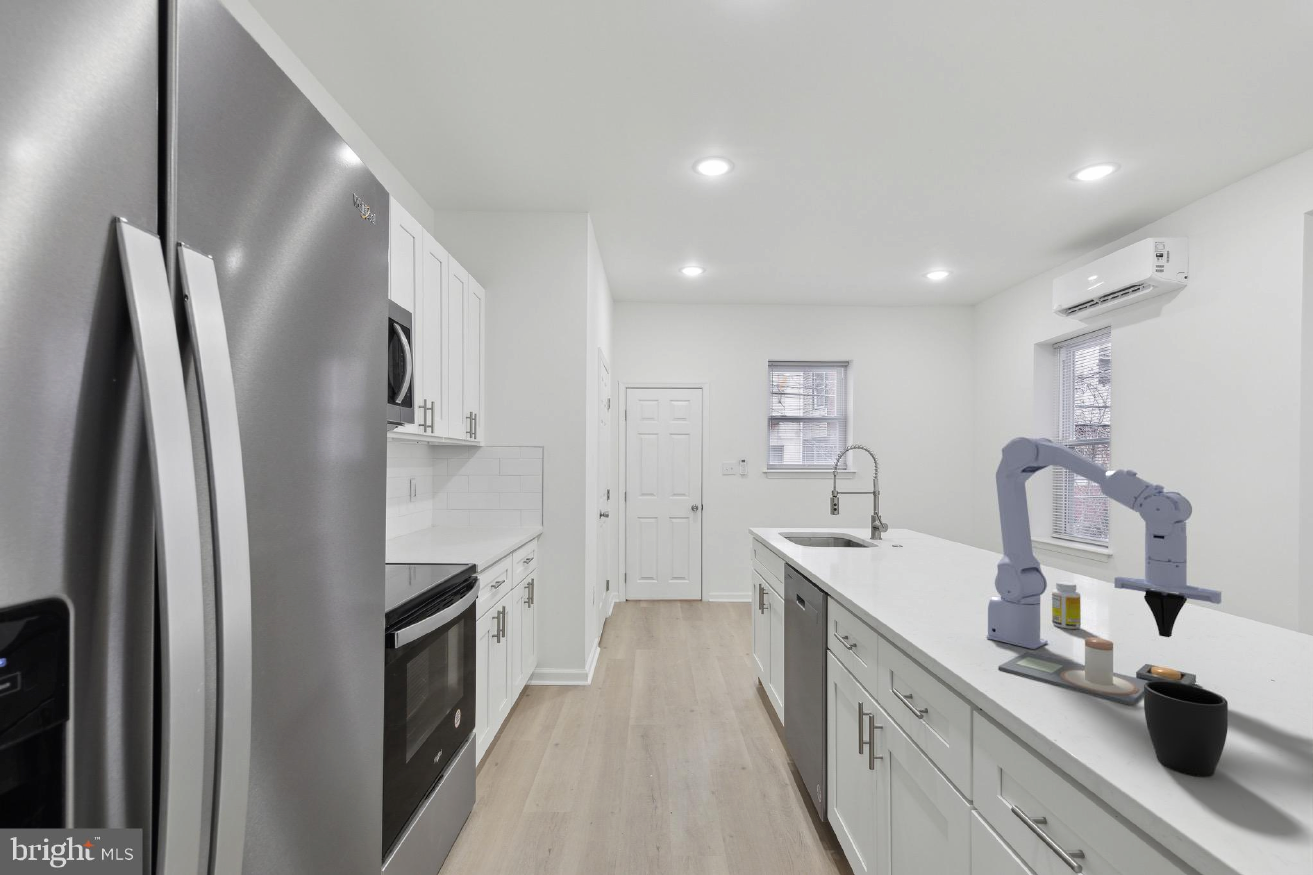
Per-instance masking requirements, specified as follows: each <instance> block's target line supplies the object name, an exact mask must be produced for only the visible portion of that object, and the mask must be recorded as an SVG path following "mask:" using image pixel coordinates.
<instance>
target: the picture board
mask: <svg viewBox="0 0 1313 875" xmlns="http://www.w3.org/2000/svg"><path fill="white" fill-rule="evenodd" d="M997 669H998V670H999V671H1001V672H1002V671H1003V672H1006V673H1010V674H1014V675H1017V676H1021V677H1025V678H1028V679H1032V680H1036V681H1040V682H1043V683H1046V684H1050V685H1054V686H1058V687H1061V688H1066V689H1068V690H1072V691H1076V692H1080V693H1082V694H1083V693H1084V694H1085V695H1086V694H1087V695H1091V696H1095V697H1098V698H1102V699H1105V700H1109V701H1113V702H1116V703H1120V704H1124V705H1126V706H1127V705H1128V706H1130V707H1131V706H1133V705H1134V704H1135V703H1136V702H1137V701H1138V700H1139V699H1141V697H1142V696H1144V684H1145V683H1146V682H1149V681H1147V680H1143V679H1139V678H1136V676H1135V677H1134V676H1130V675H1126V674H1122V673H1117V672H1114V671H1113V685H1110V686H1106V685H1098V684H1094V683H1091V682H1089V681H1087V680H1085V664H1080V663H1076V662H1072V661H1068V660H1063V659H1061V658H1060V659H1059V658H1056V657H1052V656H1048V655H1043V654H1040V653H1039V654H1038V653H1036V652H1031V651H1025V652H1023V653H1021V654H1020V655H1017V656H1015V657H1013V658H1012V659H1010V660H1008V661H1006V662H1004V663H1001V664H1000V665H998V667H997Z"/></svg>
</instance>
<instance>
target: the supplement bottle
mask: <svg viewBox="0 0 1313 875" xmlns="http://www.w3.org/2000/svg"><path fill="white" fill-rule="evenodd" d="M1081 611H1082V610H1081V593H1079V592H1078V591H1077V584H1076V583H1074V582H1070V581H1060V580H1059V581H1058V580H1057V581H1056V582H1055V589H1053V590H1051V618H1052V619H1051V622H1052V624H1053V625H1054V626H1055V627H1057V628H1061V629H1066V630H1068V629H1069V630H1078V629H1080V628H1081V627H1082V626H1081V624H1082V623H1081V622H1082V621H1081V613H1082V612H1081Z"/></svg>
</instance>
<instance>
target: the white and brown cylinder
mask: <svg viewBox="0 0 1313 875" xmlns="http://www.w3.org/2000/svg"><path fill="white" fill-rule="evenodd" d="M1084 665H1085V680H1087V681H1089V682H1091V683H1094V684H1098V685H1106V686H1110V685H1113V672H1114V642H1113V641H1111V640H1108V639H1104V638H1100V637H1092V636H1090V637H1084Z"/></svg>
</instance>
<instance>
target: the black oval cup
mask: <svg viewBox="0 0 1313 875" xmlns="http://www.w3.org/2000/svg"><path fill="white" fill-rule="evenodd" d="M1143 709H1144V710H1143V711H1144V718H1145V722H1146V727H1147V730H1148V735H1149V737H1150V741H1151V744H1152V746H1153V749H1154V752H1155V755H1156V759H1157V761H1158V762H1159V763H1160V764H1161V765H1163V766H1165V767H1166V768H1168V769H1171V770H1173V771H1174V772H1178V773H1181V774H1184V775H1187V776H1193V777H1198V778H1210V777H1212V776H1214V774H1215V771H1216V768H1217V766H1218V764H1219V762H1220V759H1221V756H1222V754H1223V752H1224V748H1225V744H1226V741H1227V735H1228V728H1229V726H1228V724H1229V720H1228V719H1229V715H1228V714H1229V710H1228V709H1229V703H1228V700H1227V699H1226V697H1224V696H1222V695H1220V694H1218V693H1216V692H1214V691H1211V690H1209V689H1206V688H1203V687H1199V686H1195V685H1194V686H1192V685H1187V684H1183V683H1182V682H1180V681H1177V680H1170V682H1169V681H1149V682H1146V683H1145V684H1144V695H1143Z"/></svg>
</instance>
